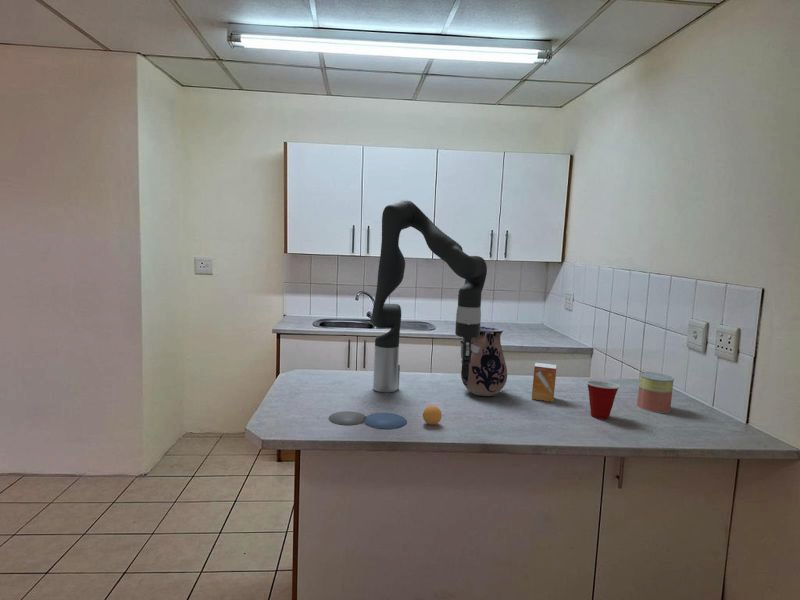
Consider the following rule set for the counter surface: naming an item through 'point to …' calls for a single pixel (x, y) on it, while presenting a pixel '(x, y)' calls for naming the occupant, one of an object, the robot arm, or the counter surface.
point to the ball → (432, 415)
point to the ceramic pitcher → (486, 364)
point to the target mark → (385, 420)
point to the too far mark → (347, 418)
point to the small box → (544, 382)
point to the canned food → (655, 392)
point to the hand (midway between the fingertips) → (464, 375)
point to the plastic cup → (601, 398)
